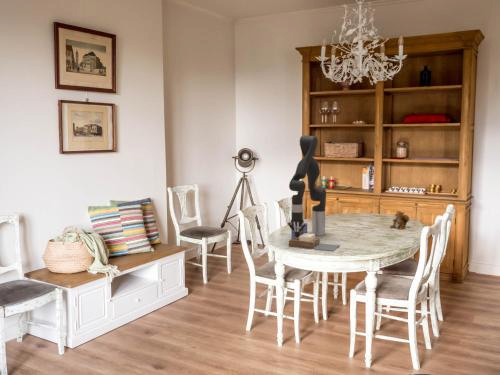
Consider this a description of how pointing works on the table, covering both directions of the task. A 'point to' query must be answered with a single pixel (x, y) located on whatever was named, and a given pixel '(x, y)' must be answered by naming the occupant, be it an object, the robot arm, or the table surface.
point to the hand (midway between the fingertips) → (297, 237)
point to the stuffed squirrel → (400, 220)
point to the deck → (304, 243)
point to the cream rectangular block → (307, 237)
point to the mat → (326, 247)
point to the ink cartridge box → (300, 231)
